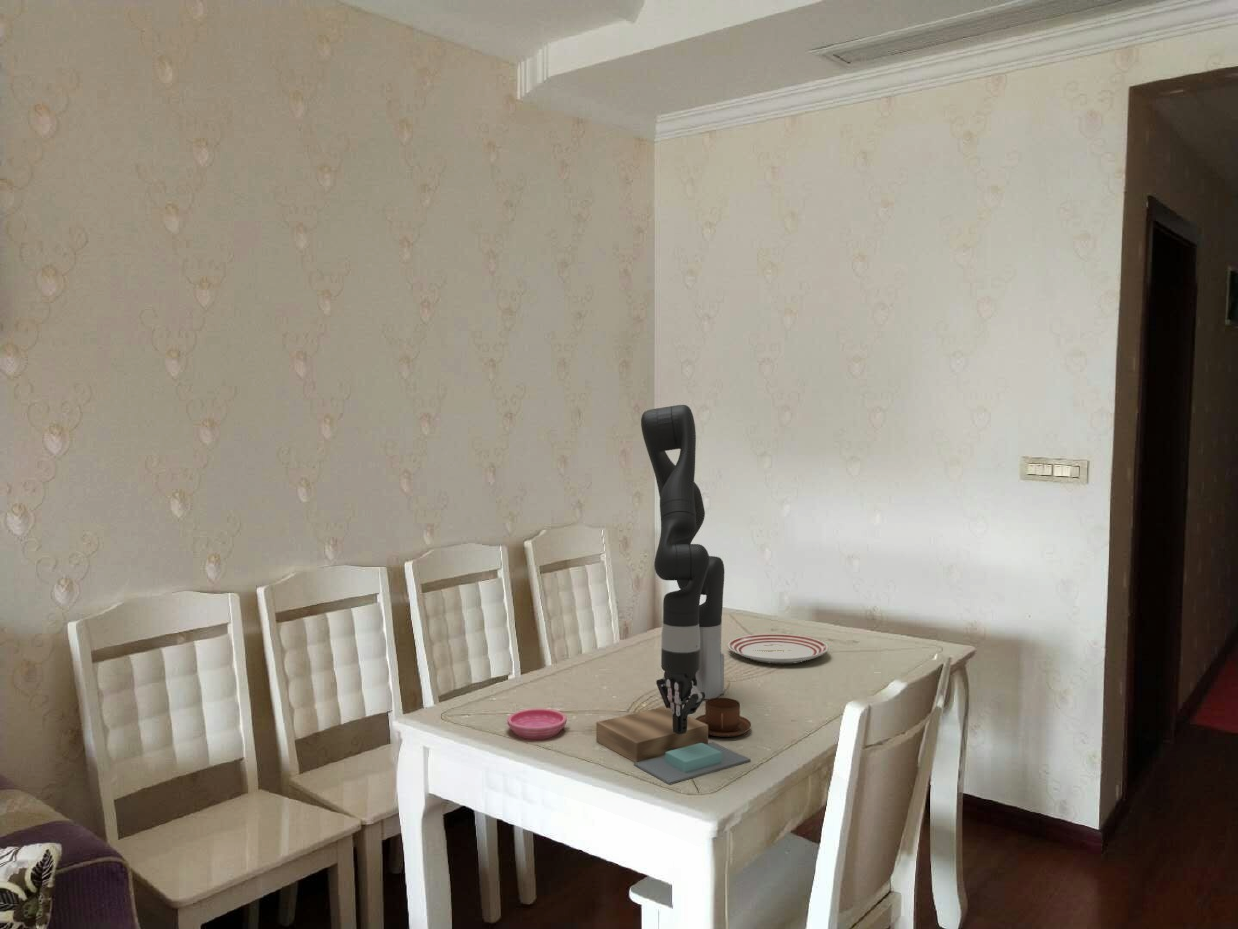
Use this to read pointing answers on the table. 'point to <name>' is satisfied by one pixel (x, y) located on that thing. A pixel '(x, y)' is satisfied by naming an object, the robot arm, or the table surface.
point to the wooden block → (648, 734)
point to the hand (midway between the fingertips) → (679, 732)
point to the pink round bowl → (537, 723)
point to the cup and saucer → (724, 718)
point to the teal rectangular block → (693, 757)
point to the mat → (673, 774)
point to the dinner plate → (778, 647)
